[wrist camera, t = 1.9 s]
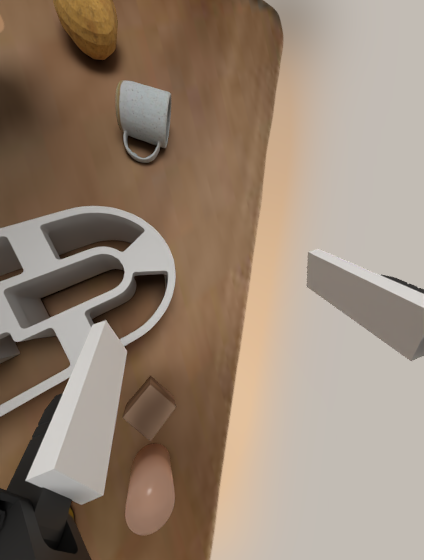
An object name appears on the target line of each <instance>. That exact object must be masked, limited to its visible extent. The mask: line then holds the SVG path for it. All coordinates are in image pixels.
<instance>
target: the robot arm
mask: <svg viewBox="0 0 424 560" xmlns="http://www.w3.org/2000/svg"><path fill="white" fill-rule="evenodd" d="M307 287H308V288H309V289H311V290H312V291H314V292H315V293H316V294H318V295H319V296H321V297H322V298H324V299H325V300H326V301H328V302H329V303H330V304H332V305H333V306H335V307H336V308H337V309H339V310H340V311H342V312H343V313H345V314H346V315H347V316H349V317H350V318H351V319H353V320H354V321H356V322H357V323H359V324H360V325H361V326H363V327H364V328H366V329H367V330H368V331H370V332H371V333H373V334H374V335H375V336H377V337H378V338H379V339H381V340H382V341H384V342H385V343H387V344H388V345H389V346H391V347H392V348H394V349H395V350H396V351H398V352H399V353H400V354H402V355H403V356H405V357H406V358H407V359H409V360H410V361H412V360H415V359H417V358H419V357H421V356H424V289H421V288H417V287H416V286H414V285H411V284H407V282H404V281H402V280H399V279H397V278H394V277H389V276H385V275H378V274H376V273H374V272H372V271H369V270H367V269H365V268H362V267H360V266H358V265H355V264H353V263H351V262H348V261H346V260H344V259H342V258H339V257H337V256H335V255H332V254H330V253H327V252H325V251H323V250H320V249H316V250H313V251H310V252H308V266H307ZM126 355H127V350H126V349H125V347H124V346H123V344H122V343H121V341H120V340H119V338H118V337H117V335H116V334H115V333H114V331H113V330H112V328H111V327H110V325H109V324H108V322H107V321H106V320H105V321H102V322H99V323H96V324H93V325H92V327H91V330H90V332H89V334H88V337H87V339H86V341H85V344H84V346H83V348H82V350H81V353H80V355H79V357H78V360H77V362H76V364H75V367H74V369H73V371H72V374H71V376H70V378H69V381H68V383H67V385H66V388H65V390H64V392H63V393H62V394H59V395H56V396H55V397H54V399H53V400H52V401H51V403H50V404H49V405H48V407H47V408H46V409H45V411H44V413H43V415H42V417H41V419H40V421H39V423H38V425H39V426H38V427H37V428H36V430H35V432H34V434H33V436H32V437H33V438H32V440H30V442H29V444H28V446H27V449H26V451H25V453H24V455H23V457H22V459H21V461H20V463H19V465H18V467H17V469H16V472H15V474H14V476H13V478H12V480H11V482H10V484H9V486H8V488H7V490H3V489H0V560H91V558H90V556H89V553H88V551H87V549H86V546H85V544H84V542H83V540H82V537H81V535H80V533H79V531H78V528H77V526H76V524H75V521H74V519H73V517H72V516H71V515H70V514H68V513H69V509H70V505H71V501H74V502H76V503H78V504H81V505H82V504H85V503H87V502H89V501H91V500H94V499H96V498H98V497H101V496H103V495H104V489H105V483H106V477H107V471H108V465H109V459H110V453H111V447H112V440H113V434H114V428H115V422H116V416H117V410H118V404H119V398H120V392H121V386H122V380H123V374H124V368H125V362H126Z"/></svg>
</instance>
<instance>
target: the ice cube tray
mask: <svg viewBox="0 0 424 560" xmlns="http://www.w3.org/2000/svg"><path fill="white" fill-rule="evenodd" d="M105 240H119V241H125V242H129V243H132V244H131V245H130V246H129V247H128V248H127V249H126V250H125V251H123V252H121V251H119V250H116V249H114V248H110V247H96V248H92V249H89V250H86V251H83V252H80V253H78V254H75V255H72V256H69V257H67V258H64V259H60V257H59V255H61V254H63V253H66V252H69V251H72V250H75V249H78V248H80V247H83V246H86V245H89V244H92V243H95V242H99V241H105ZM21 268H23V270H24V271H23V273H22V274H20V275H17V276H14V277H11V278H9V279H6V280H3V281H0V363H2V362H4V361H7V360H9V359H11V358H13V357H15V356H17V355H19V354H20V352H19V350H18V348H17V346H16V344H15V342H14V341H16V342H20V341H27V340H32V339H36V338H43V337H51V336H57V337H58V339H59V341H60V343H61V345H62V347H63V349H64V351H65V353H66V355H67V357H68V359H69V361H70V366H69V367H68V368H67V369H65V370H63V371H62V372H60V373H58V374H56V375H54V376H53V377H51V378H49V379H47V380H45V381H43V382H42V383H40V384H38V385H36V386H34V387H33V388H31V389H29V390H27V391H25V392H23V393H22V394H20V395H18V396H16V397H14V398H13V399H11V400H9V401H7V402H5V403H4V404H2V405H0V417H1V416H2V415H4V414H6V413H8V412H9V411H11V410H13V409H15V408H16V407H18V406H20V405H22V404H23V403H25V402H27V401H29V400H31V399H32V398H34V397H36V396H38V395H39V394H41V393H43V392H45V391H46V390H48V389H50V388H52V387H53V386H55V385H57V384H59V383H60V382H62V381H64V380H66V379H67V378H69V377H70V376H71V374H72V371H73V369H74V367H75V364H76V362H77V360H78V357H79V355H80V353H81V350H82V348H83V346H84V344H85V341H86V339H87V337H88V334H89V332H90V330H91V327H92V325H93V324H94V323H93V321H92V319H93V318H95V317H97V316H99V315H101V314H103V313H105V312H107V311H109V310H111V309H113V308H115V307H117V306H119V305H121V304H124V303H125V302H127V301H129V300H130V299H131V298H132V297H133V295H134V293H135V291H136V281H135V278H134V277H135V276H136V275H154V274H164V279H165V295H164V298H163V300H162V302H161V304H160V306H159V308H158V309H157V311H156V312H155V313H154V315H153V316H152V317H151V318H150V319H149V320H148V321H147V322H146V323H145V324H144V325H143V326H141V327H140V328H139V329H137V330H135V331H134V332H132V333H131V334H129V335H127V336H125V337H123V338H122V339H120V341H121V343H122V344H123V346H126V345H127V344H129V343H131V342H133V341H134V340H136V339H138V338H139V337H141V336H142V335H144V334H145V333H146V332H148V331H149V330H150V329H151V328H152V327H153V326H154V325H155V324H156V323H157V322H158V321H159V319H160V318H161V317H162V315H163V314H164V312H165V311H166V309H167V307H168V305H169V303H170V300H171V298H172V295H173V291H174V286H175V265H174V260H173V257H172V254H171V251H170V249H169V247H168V245H167V244H166V242H165V241H164V239H163V238H162V236H161V235H160V234H159V233H158V232H157V231H156V230H155V229H154V228H153V227H152V226H151V225H149V224H148V223H147V222H145V221H144V220H142V219H141V218H139V217H137V216H135V215H133V214H131V213H128V212H126V211H123V210H119V209H116V208H111V207H103V206H83V207H76V208H72V209H67V210H64V211H60V212H57V213H53V214H50V215H46V216H42V217H39V218H35V219H32V220H28V221H25V222H21V223H18V224H14V225H10V226H7V227H3V228H0V276H1V275H4V274H7V273H10V272H12V271H15V270H18V269H21ZM111 269H120V270H123V271H125V273H124V278H123V280H122V282H121V283H120V285H119V286H117V287H116V288H114V289H113V290H110V291H108V292H106V293H104V294H102V295H99V296H97V297H95V298H93V299H91V300H88V301H86V302H84V303H82V304H79V305H77V306H75V307H73V308H71V309H68V310H66V311H64V312H62V313H60V314H57V315H55V316H53V317H51V318H50V317H49V315H48V313H47V311H46V309H45V307H44V305H43V303H42V301H41V299H40V298H43V297H45V296H47V295H50V294H52V293H55V292H57V291H60V290H62V289H64V288H67V287H69V286H72V285H74V284H77V283H79V282H81V281H84V280H86V279H89V278H91V277H93V276H96V275H98V274H101V273H103V272H106V271H108V270H111Z"/></svg>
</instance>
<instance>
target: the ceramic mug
mask: <svg viewBox="0 0 424 560" xmlns="http://www.w3.org/2000/svg"><path fill="white" fill-rule="evenodd" d="M116 116H117V122H118V125H119V127H120V129H121V131H122V132H123V133H124V136H123V138H124V145H125V148H126V150H127V152H128V153H129V155H130V156H131V157H132V158H133V159H135V160H136V161H139V162H142V163H149V162H151V161H153V160H154V159H155V158H156V156H157V155H158V153H159V150H160V147H162V148H166V146H167V142H168V135H169V128H170V116H171V94H170V93H169V92H167V91H163V90H159V89H156V88H153V87H150V86H146V85H142V84H139V83H136V82H133V81H120V82H119V84H118V86H117V89H116ZM128 136H131V137H133V138H136V139H139V140H142V141H145V142H148V143H150V144H153V145H156V146H157V147H156V149H155V151H154V152H153V154H151V155H150V156H148V157H146V158H141V157H139V156H137V155H136V154H135V153H133V152H132V151H131V150H130V149H129V148H128V142H127V139H128Z"/></svg>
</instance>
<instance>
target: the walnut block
mask: <svg viewBox="0 0 424 560" xmlns="http://www.w3.org/2000/svg"><path fill="white" fill-rule="evenodd" d="M175 408H176V404H175V401H174V398H173V395H172V394H171V393H170V392H169V391H167V390H166V389H165V388H164V387H163V386H162V385H161V384H159V383H158V382H157V381H156V380H155V379H154V378H153V377H151V376H150V377H149V378H148V379H147V380H146V382H145V383H144V384H143V385H142V386H141V388H140V389H139V390H138V391H137V392H136V393H135V395H134V396H133V397H132V398H131V399H130V401H129V402H128V403H127V405H126V408H125V412H124V415H123V419H124V420H126V421H127V422H128V423H129V424H130V425H132V426H133V427H134V428H135V429H136V430H138V431H139V432H140V433H141V434H142V435H144V436H145V437H146V438H147V439H148V440H150V441H151V440H152V439H153V438H154V436H155V435H156V434H157V432H158V431H159V429H160V428H161V427H162V425H163V424H164V423H165V421H166V420H167V419H168V417H169V416H170V415H171V413H172V412H173V411H174V409H175Z"/></svg>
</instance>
